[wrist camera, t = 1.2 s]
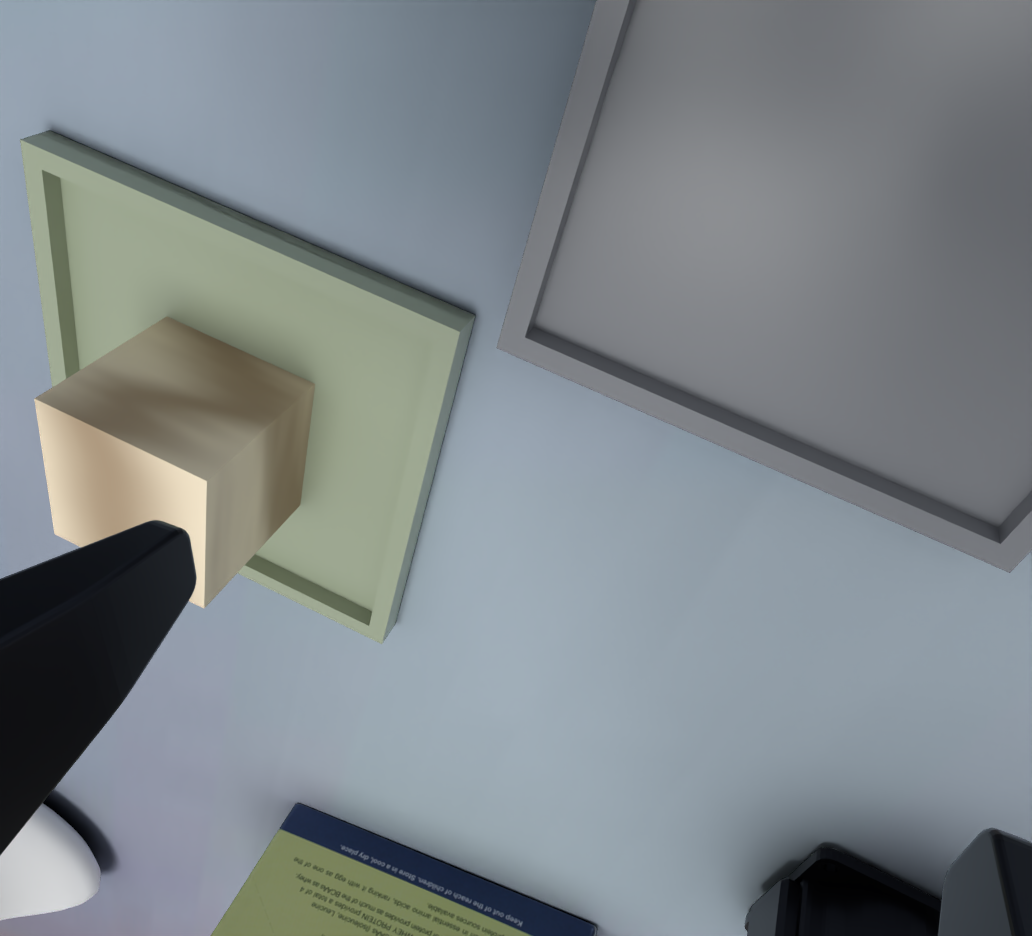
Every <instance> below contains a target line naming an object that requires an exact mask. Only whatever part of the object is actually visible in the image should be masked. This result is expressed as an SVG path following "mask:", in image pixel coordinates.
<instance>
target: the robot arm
mask: <svg viewBox="0 0 1032 936" xmlns="http://www.w3.org/2000/svg"><path fill="white" fill-rule="evenodd" d="M196 580H197V576H196V569H195V563H194V558H193V552H192V546H191V540H190V537H189V534H188V533H187V532H186V531H185V530H184V529H182V528H180V527H177V526H174V525H172V524H169V523H166V522H164V521H160V520H152V521H148V522H145V523H142V524H140V525H137V526H134V527H132V528H129V529H127V530H124V531H122V532H119V533H117V534H114V535H111V536H109V537H106V538H104V539H101V540H99V541H96V542H93V543H91V544H88V545H86V546H83V547H81V548H78V549H76V550H73V551H70V552H68V553H65V554H63V555H60V556H58V557H55V558H52V559H50V560H47V561H45V562H42V563H40V564H37V565H35V566H32V567H29V568H27V569H24V570H22V571H19V572H17V573H14V574H11V575H9V576H6V577H4V578H1V579H0V855H1V854H2V853H3V852H4V850H5V849H6V848H7V847H8V845H9V844H10V843H11V842H12V840H13V839H14V838H15V837H16V836H17V834H18V833H19V832H20V831H21V829H22V828H23V827H24V826H25V824H26V823H27V822H28V821H29V819H30V818H31V817H32V816H33V814H34V813H35V812H36V811H37V809H38V808H39V807H40V806H41V804H42V803H43V802H44V801H45V799H46V798H47V797H48V796H49V794H50V793H51V792H52V791H53V789H54V788H55V787H56V786H57V784H58V783H59V782H60V781H61V779H62V778H63V777H64V776H65V774H66V773H67V772H68V771H69V769H70V768H71V767H72V766H73V764H74V763H75V762H76V761H77V759H78V758H79V757H80V756H81V754H82V753H83V752H84V751H85V749H86V748H87V747H88V746H89V744H90V743H91V742H92V741H93V739H94V738H95V737H96V736H97V734H98V733H99V732H100V731H101V729H102V728H103V727H104V726H105V724H106V723H107V722H108V721H109V719H110V718H111V717H112V715H113V714H114V713H115V711H116V710H117V709H118V708H119V706H120V705H121V704H122V702H123V701H124V699H125V698H126V697H127V695H128V694H129V692H130V691H131V689H132V688H133V686H134V685H135V683H136V682H137V680H138V679H139V677H140V676H141V674H142V673H143V671H144V669H145V668H146V666H147V665H148V663H149V662H150V660H151V659H152V657H153V655H154V654H155V652H156V651H157V649H158V648H159V646H160V645H161V643H162V641H163V640H164V638H165V637H166V635H167V634H168V632H169V631H170V629H171V628H172V626H173V624H174V623H175V621H176V620H177V618H178V617H179V615H180V614H181V612H182V610H183V609H184V607H185V606H186V604H187V603H188V601H189V600H190V598H191V596H192V594H193V592H194V589H195V586H196ZM745 929H746V930H747V931H748V933H747V936H1032V843H1031V842H1029V841H1027V840H1025V839H1023V838H1020V837H1017V836H1015V835H1012V834H1009V833H1006V832H1004V831H1001V830H998V829H995V828H989V829H985V830H983V831H982V832H981V833H980V834H979V835H978V836H977V837H976V838H975V839H974V840H973V842H972V843H971V844H970V845H969V846H968V847H967V848H966V849H965V850H964V852H963V853H962V854H961V855H960V856H959V857H958V858H957V859H956V860H955V862H954V863H953V864H952V865H951V867H950V868H949V870H948V872H947V875H946V878H945V881H944V886H943V893H942V901H941V900H939V899H936V898H934V897H932V896H930V895H928V894H926V893H924V892H922V891H920V890H918V889H916V888H914V887H912V886H910V885H908V884H906V883H904V882H902V881H900V880H898V879H896V878H893V877H891V876H889V875H887V874H885V873H883V872H881V871H879V870H877V869H875V868H873V867H871V866H869V865H867V864H865V863H863V862H861V861H859V860H857V859H855V858H853V857H850V856H848V855H846V854H844V853H842V852H840V851H838V850H835V849H833V848H820V849H818V850H817V851H816V852H814V853H813V854H812V855H811V856H810V857H809V858H808V859H807V860H806V861H805V862H804V863H802V864H801V865H800V866H799V867H798V868H797V869H796V870H795V871H794V872H793V873H791V874H790V875H789V876H788V877H786V878H784V879H782V880H780V881H779V882H778V883H776V884H775V885H774V886H773V887H772V888H771V889H770V890H769V891H768V892H767V893H766V894H764V895H763V896H762V897H761V898H760V899H759V900H758V901H757V902H756V903H755V904H754V905H752V907H751V911H750V912H749V913H748V914H747V916H746V921H745Z"/></svg>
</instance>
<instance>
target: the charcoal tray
mask: <svg viewBox="0 0 1032 936" xmlns="http://www.w3.org/2000/svg"><path fill="white" fill-rule="evenodd" d="M497 349H500V350H502V351H504V352H507V353H509V354H511V355H513V356H516V357H518V358H520V359H523V360H525V361H527V362H529V363H532V364H534V365H536V366H539V367H541V368H543V369H545V370H548V371H550V372H552V373H555V374H557V375H559V376H561V377H564V378H566V379H568V380H571V381H573V382H575V383H577V384H580V385H582V386H584V387H587V388H589V389H591V390H593V391H596V392H598V393H600V394H603V395H605V396H607V397H609V398H612V399H614V400H616V401H619V402H621V403H623V404H625V405H628V406H630V407H632V408H634V409H637V410H639V411H641V412H644V413H646V414H648V415H650V416H653V417H655V418H657V419H660V420H662V421H664V422H666V423H669V424H671V425H673V426H676V427H678V428H680V429H682V430H685V431H687V432H689V433H692V434H694V435H696V436H698V437H701V438H703V439H705V440H708V441H710V442H712V443H714V444H717V445H719V446H721V447H724V448H726V449H728V450H730V451H733V452H735V453H737V454H740V455H742V456H744V457H746V458H749V459H751V460H753V461H756V462H758V463H760V464H762V465H765V466H767V467H769V468H772V469H774V470H776V471H778V472H781V473H783V474H785V475H788V476H790V477H792V478H794V479H797V480H799V481H801V482H804V483H806V484H808V485H810V486H813V487H815V488H817V489H820V490H822V491H824V492H826V493H829V494H831V495H833V496H835V497H838V498H840V499H842V500H845V501H847V502H849V503H851V504H854V505H856V506H858V507H861V508H863V509H865V510H867V511H870V512H872V513H874V514H877V515H879V516H881V517H883V518H886V519H888V520H890V521H893V522H895V523H897V524H899V525H902V526H904V527H906V528H909V529H911V530H913V531H915V532H918V533H920V534H922V535H925V536H927V537H929V538H931V539H934V540H936V541H938V542H941V543H943V544H945V545H947V546H950V547H952V548H954V549H957V550H959V551H961V552H963V553H966V554H968V555H970V556H973V557H975V558H977V559H979V560H982V561H984V562H986V563H989V564H991V565H993V566H995V567H998V568H1000V569H1002V570H1005V571H1007V572H1009V573H1010V572H1011V571H1012V570H1013V569H1014V568H1015V567H1016V566H1017V565H1018V564H1019V563H1020V562H1021V561H1022V560H1023V559H1024V558H1025V557H1026V556H1027V554H1028V553H1029V552H1030V551H1031V550H1032V0H596V3H595V7H594V10H593V14H592V17H591V21H590V24H589V27H588V31H587V34H586V38H585V41H584V45H583V48H582V52H581V55H580V59H579V62H578V66H577V69H576V73H575V76H574V80H573V83H572V87H571V90H570V94H569V97H568V101H567V104H566V108H565V111H564V115H563V118H562V121H561V125H560V128H559V132H558V135H557V139H556V142H555V146H554V149H553V153H552V156H551V160H550V163H549V167H548V170H547V174H546V177H545V181H544V184H543V188H542V191H541V195H540V198H539V202H538V205H537V209H536V212H535V215H534V219H533V222H532V226H531V229H530V233H529V236H528V240H527V243H526V247H525V250H524V254H523V257H522V261H521V264H520V268H519V271H518V275H517V278H516V282H515V285H514V289H513V292H512V296H511V299H510V303H509V306H508V309H507V313H506V316H505V320H504V323H503V327H502V330H501V334H500V337H499V341H498V344H497Z"/></svg>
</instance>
